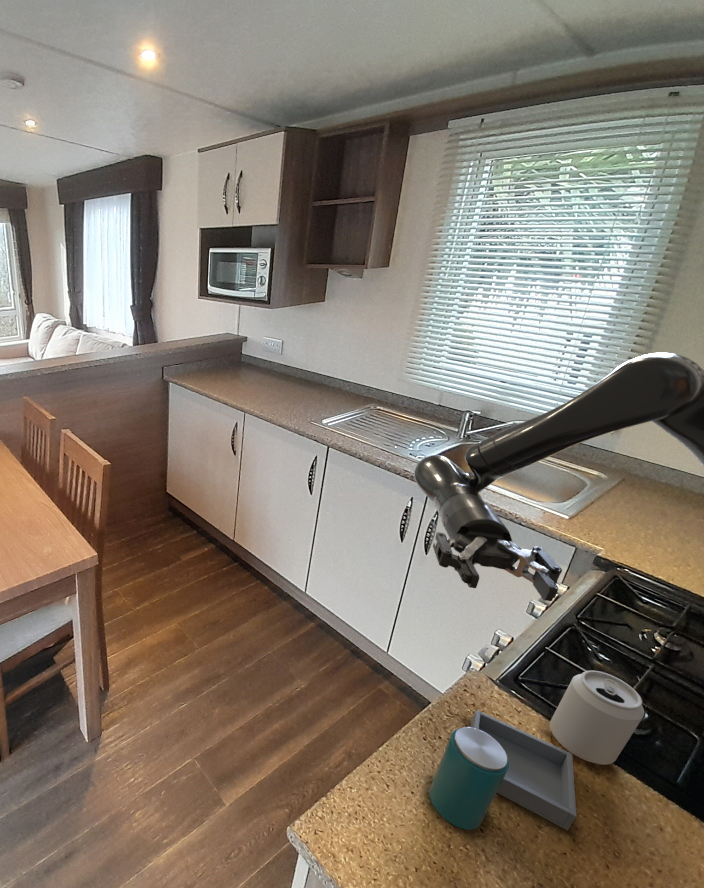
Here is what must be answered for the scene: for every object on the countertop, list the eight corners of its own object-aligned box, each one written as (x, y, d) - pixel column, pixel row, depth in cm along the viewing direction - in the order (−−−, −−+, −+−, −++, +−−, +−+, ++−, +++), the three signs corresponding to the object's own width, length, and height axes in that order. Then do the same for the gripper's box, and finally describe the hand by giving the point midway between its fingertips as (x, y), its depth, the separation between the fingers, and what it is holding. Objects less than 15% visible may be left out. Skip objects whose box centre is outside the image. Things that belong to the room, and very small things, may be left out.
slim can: (483, 801, 65) (511, 743, 60) (479, 841, 61) (509, 782, 56) (432, 772, 69) (455, 716, 64) (425, 808, 64) (449, 750, 60)
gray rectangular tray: (564, 767, 69) (572, 753, 68) (567, 830, 62) (576, 816, 60) (470, 722, 75) (476, 709, 74) (463, 775, 68) (469, 761, 67)
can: (545, 745, 72) (575, 689, 67) (548, 711, 77) (576, 656, 72) (614, 779, 67) (652, 722, 62) (613, 741, 72) (647, 685, 67)
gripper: (428, 499, 79) (458, 557, 65) (532, 512, 75) (588, 577, 61) (417, 537, 82) (444, 600, 68) (517, 551, 78) (567, 622, 64)
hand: (512, 589), depth 64 cm, fingers open, 8 cm apart
